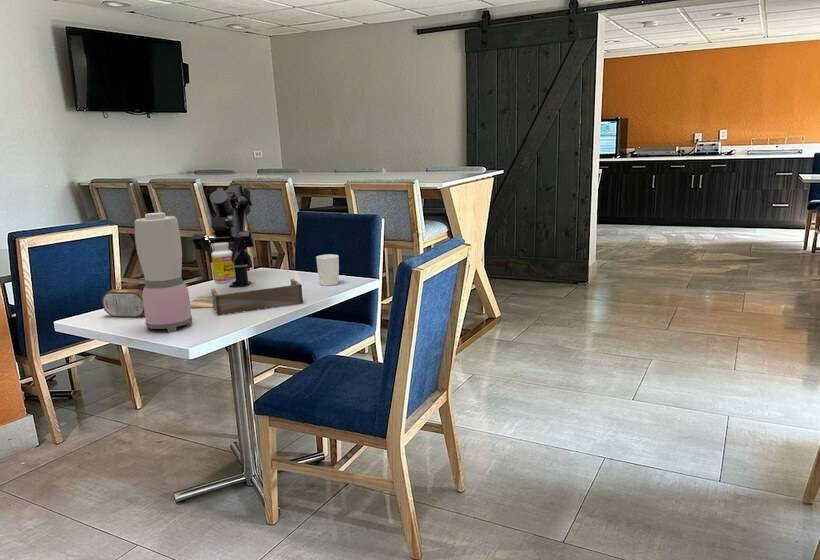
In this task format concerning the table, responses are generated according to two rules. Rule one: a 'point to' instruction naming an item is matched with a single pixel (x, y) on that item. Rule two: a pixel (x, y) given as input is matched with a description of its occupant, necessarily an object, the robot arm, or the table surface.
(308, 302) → the table surface
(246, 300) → the cubby
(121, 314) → the tin
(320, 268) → the white cup
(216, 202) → the robot arm
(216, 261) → the supplement bottle
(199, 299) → the coaster
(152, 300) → the blender
